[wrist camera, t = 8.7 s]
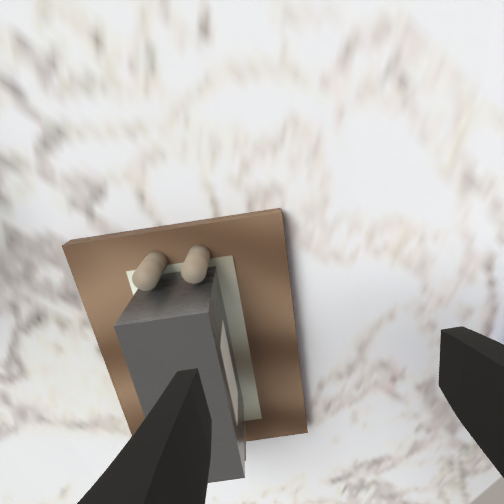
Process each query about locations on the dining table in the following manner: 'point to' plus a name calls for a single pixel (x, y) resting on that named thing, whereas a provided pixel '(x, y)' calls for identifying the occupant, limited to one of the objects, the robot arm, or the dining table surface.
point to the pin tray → (234, 298)
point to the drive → (187, 357)
